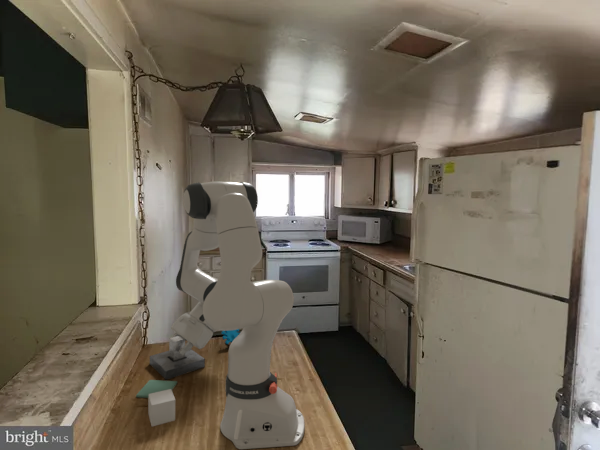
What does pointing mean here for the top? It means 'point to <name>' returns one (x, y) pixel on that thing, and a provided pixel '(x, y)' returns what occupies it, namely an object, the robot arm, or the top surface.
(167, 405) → the plain white cube
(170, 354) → the steel bar
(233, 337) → the gear
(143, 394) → the rubber mat
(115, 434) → the top surface
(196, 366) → the socket block
